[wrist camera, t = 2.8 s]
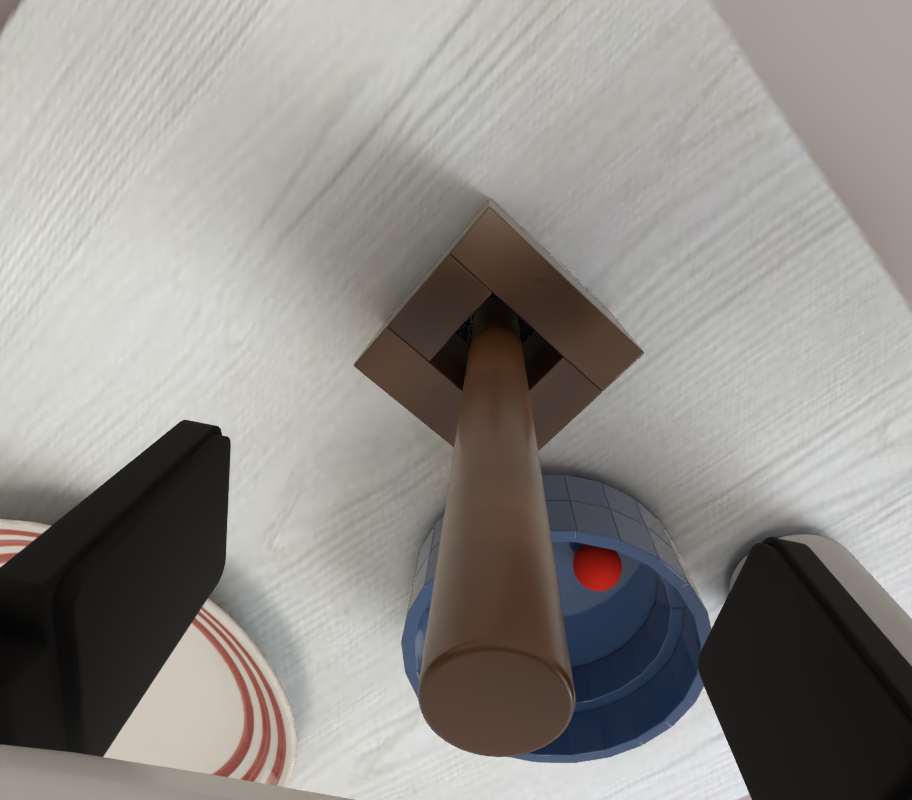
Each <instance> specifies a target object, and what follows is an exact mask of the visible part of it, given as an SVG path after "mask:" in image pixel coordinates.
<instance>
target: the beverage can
mask: <svg viewBox="0 0 912 800" xmlns="http://www.w3.org/2000/svg"><path fill="white" fill-rule="evenodd" d="M779 539H784V540H789V541H794V542H798V543H803V544H806V545H807V546H808V547H810V548H811V550H812V551H813V552H814V553H815V554H816V555H817V557H818V558H819V559H820V560H821V561H822V562H823V564H824V565H825V566H826V567H827V568H828V569H829V571H830V572H831V573H832V574H833V575H834V576H835V577H836V579H837V580H838V581H839V582H840V583H841V584H842V586H843V587H844V588H845V589H846V590H847V591H848V593H849V594H850V595H851V596H852V597H853V598H854V600H855V601H856V602H857V603H858V604H859V605H860V607H861V608H862V609H863V610H864V611H865V612H866V614H867V615H868V616H869V617H870V618H871V619H872V621H873V622H874V623H875V624H876V625H877V626H878V628H879V629H880V630H881V631H882V632H883V633H884V635H885V636H886V637H887V638H888V639H889V640H890V641H891V643H892V644H893V645H894V646H895V647H896V648H897V650H898V651H899V652H900V653H901V654H902V655H903V657H904V658H905V659H906V660H907V661H908V662H909V664H910V665H911V666H912V619H911V618H910V617H909V616H908V615H907V613H906V612H905V611H904V610H903V609H902V608H901V607H900V606H899V605H898V604H897V603H896V602H895V600H894V599H893V598H892V597H891V596H890V595H889V594H888V593H887V592H886V591H885V590H884V589H883V587H882V586H881V585H880V584H879V583H878V582H877V581H876V580H875V579H874V578H873V577H872V576H871V574H870V573H869V572H868V571H867V570H866V569H865V568H864V567H863V566H862V565H861V564H860V563H859V561H858V560H857V559H856V558H855V557H854V556H853V555H852V554H851V553H850V552H849V551H848V550H847V549H846V548H845V547H844V546H842V545H841V544H839V543H838V542H836V541H833V540H831V539H829V538H826V537H822V536H818V535H810V534H797V535H789V536H783V537H779ZM747 556H748V555H747ZM747 556H745V557H744V558H743V560H742V561H741V562H740V563H739V564H738V566H737V567H736V569H735V571H734V573H733V575H732V577H731V581H730V586H729V593H730V591H731V589H732V587H733V585H734V583H735V581H736V579H737V577H738V575H739V573H740V571H741V569H742V567H743V565H744V563H745V560H746V558H747Z"/></svg>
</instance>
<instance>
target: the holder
mask: <svg viewBox="0 0 912 800" xmlns="http://www.w3.org/2000/svg"><path fill="white" fill-rule="evenodd" d="M492 292H493V293H494V294H495V295H496V296H497V297H499V298H500V299H501V300H502V301H503V302H504V303H505V304H506V305H507V306H508V307H510V308H511V309H512V310H513V311H514V312H515V313H516V314H517V315H518V316H519V317H521V318H522V319H523V320H524V321H525V322H526V323H527V324H528V325H529V326H531V327H532V328H533V329H534V330H535V331H534V332H533V333H532V334H531V335H530V336H529V337H528V338H527V339H526V340H525V341H524V342H523V343H522V349H523V356H524V362H525V369H526V375H527V382H528V388H529V395H530V401H531V408H532V414H533V421H534V428H535V434H536V441H537V447H538V451H539V450H540V449H541V448H542V447H543V446H544V445H545V444H546V443H547V442H549V441H550V440H551V439H552V438H553V437H554V436H555V435H556V434H557V433H558V432H559V431H560V430H562V429H563V428H564V427H565V426H566V425H567V424H568V423H569V422H570V421H571V420H572V419H574V418H575V417H576V416H577V415H578V414H579V413H580V412H581V411H582V410H583V409H584V408H585V407H587V406H588V405H589V404H590V403H591V402H592V401H593V400H594V399H595V398H596V397H597V396H598V395H600V394H601V393H602V391H604V390H605V389H606V388H607V387H608V386H609V385H610V384H611V383H612V382H613V381H615V380H616V379H617V378H618V377H619V376H620V375H621V374H622V373H623V372H624V371H625V370H626V369H628V368H629V367H630V366H631V365H632V364H633V363H634V362H635V361H636V360H637V359H638V358H639V357H641V356H642V355H643V354H644V352H643V350H642V349H641V348H640V347H639V346H638V344H637V343H636V342H635V341H634V339H633V338H632V337H631V336H630V335H629V333H628V332H627V331H626V330H625V329H624V327H623V326H622V325H621V324H620V323H619V321H618V320H617V319H616V318H615V317H614V315H613V314H612V313H611V312H610V311H609V310H608V309H607V308H606V307H605V306H604V305H603V304H602V303H601V302H600V301H598V300H597V299H596V298H595V297H594V296H593V295H592V294H591V293H590V292H589V291H588V290H587V289H586V288H585V287H584V286H583V285H582V284H581V283H580V282H579V281H577V280H576V279H575V278H574V277H573V276H572V275H571V274H570V273H569V272H568V271H567V270H566V269H565V268H564V267H563V266H562V265H561V264H560V263H559V262H558V261H556V260H555V259H554V258H553V257H552V256H551V255H550V254H549V253H548V252H547V251H546V250H545V249H544V248H543V247H542V246H541V245H540V244H539V243H538V242H536V241H535V240H534V239H533V238H532V237H531V236H530V235H529V234H528V233H527V232H526V231H525V230H524V229H523V228H522V227H521V226H520V225H519V224H518V223H517V222H515V221H514V220H513V219H512V218H511V217H510V216H509V215H508V214H507V213H506V212H505V211H504V210H503V209H502V208H501V207H500V206H499V205H498V204H497V203H496V202H494V201H493V200H492V199H489V201H488V202H487V203H486V204H485V205H484V206H483V208H482V209H481V210H480V211H479V212H478V213H477V215H476V216H475V217H474V218H473V219H472V221H471V222H470V223H469V224H468V225H467V226H466V228H465V229H464V230H463V231H462V232H461V234H460V235H459V236H458V237H457V238H456V239H455V241H454V242H453V243H452V244H451V245H450V247H449V248H448V249H447V250H446V251H445V252H444V254H443V255H442V256H441V257H440V258H439V259H438V261H437V262H436V263H435V264H434V265H433V267H432V268H431V269H430V270H429V271H428V272H427V274H426V275H425V276H424V277H423V278H422V280H421V281H420V282H419V283H418V284H417V285H416V287H415V288H414V289H413V290H412V291H411V293H410V294H409V295H408V296H407V297H406V298H405V300H404V301H403V302H402V303H401V304H400V305H399V307H398V308H397V309H396V310H395V311H394V312H393V314H392V315H391V316H390V317H389V318H388V320H387V321H386V322H385V323H384V324H383V326H382V327H381V328H380V330H379V331H378V332H377V334H376V335H375V336H374V338H373V339H372V341H371V342H370V343H369V345H368V346H367V347H366V349H365V350H364V351H363V353H362V354H361V355H360V357H359V358H358V359H357V361H356V362H355V363H354V366H355V367H356V368H357V369H358V370H360V371H361V372H362V373H363V374H364V375H366V376H367V377H368V378H369V379H371V380H372V381H373V382H374V383H376V384H377V385H378V386H379V387H380V388H382V389H383V390H384V391H385V392H387V393H388V394H389V395H390V396H392V397H393V398H394V399H395V400H396V401H398V402H399V403H400V404H401V405H403V406H404V407H405V408H406V409H408V410H409V411H410V412H411V413H412V414H414V415H415V416H416V417H417V418H419V419H420V420H421V421H422V422H424V423H425V424H426V425H427V426H428V427H430V428H431V429H432V430H433V431H435V432H436V433H437V434H438V435H440V436H441V437H442V438H443V439H444V440H446V441H447V442H448V443H449V444H451V445H452V446H453V447H454V446H455V439H456V433H457V426H458V419H459V413H460V406H461V399H462V393H463V386H464V380H465V373H466V366H467V360H468V353H469V346H470V345H469V344H468V343H467V342H466V341H465V340H464V339H463V338H461V337H460V336H459V335H458V334H457V333H456V332H457V331H458V330H459V329H460V328H461V327H462V326H463V324H464V323H465V322H466V321H467V320H468V319H469V318H470V317H471V316H472V315H473V314H474V312H475V311H476V310H477V309H478V308H479V307H480V306H481V305H482V304H483V303H484V301H485V300H486V299H487V298H488V297H489V296H490V295H491V294H492Z"/></svg>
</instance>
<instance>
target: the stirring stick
mask: <svg viewBox="0 0 912 800" xmlns="http://www.w3.org/2000/svg"><path fill="white" fill-rule="evenodd" d="M418 701H419V706H420V709H421V711H422V714H423V717H424V718H425V720H426V722H427V724H428V725H429V726H430V727H431V729H432V730H433V731H434V732H435V733H436V734H437V735H438V736H440V737H441V738H442V739H444V740H445V741H446V742H448V743H450V744H451V745H453V746H455V747H457V748H460V749H462V750H465V751H468V752H470V753H475V754H479V755H484V756H494V757H509V756H517V755H522V754H527V753H530V752H533V751H536V750H538V749H541V748H543V747H545V746H546V745H548V744H550V743H551V742H553V741H554V740H555V739H557V738H558V737H559V736H560V735H561V734H562V733H563V732H564V730H565V729H566V728H567V726H568V724H569V722H570V720H571V718H572V715H573V712H574V709H575V701H576V698H575V689H574V682H573V676H572V669H571V663H570V656H569V649H568V643H567V636H566V630H565V623H564V617H563V610H562V604H561V597H560V591H559V584H558V578H557V571H556V565H555V558H554V552H553V545H552V539H551V532H550V525H549V519H548V512H547V506H546V499H545V493H544V486H543V480H542V473H541V467H540V460H539V454H538V447H537V441H536V434H535V428H534V421H533V414H532V408H531V401H530V395H529V388H528V382H527V375H526V369H525V362H524V356H523V349H522V343H521V336H520V330H519V323H518V317H517V314H516V313H515V312H514V311H513V310H512V309H511V308H510V307H508V306H507V305H506V304H505V303H504V302H503V301H502V300H501V299H500V298H490V299H487V300H485V301H484V303H483V304H482V305H481V306H480V307H479V308H478V309H477V310H476V311H475V314H474V320H473V326H472V333H471V340H470V346H469V353H468V360H467V366H466V373H465V380H464V386H463V393H462V399H461V406H460V413H459V419H458V426H457V433H456V439H455V446H454V453H453V459H452V466H451V473H450V479H449V486H448V493H447V499H446V506H445V513H444V519H443V526H442V533H441V539H440V546H439V553H438V559H437V566H436V572H435V579H434V586H433V592H432V599H431V606H430V612H429V619H428V626H427V632H426V639H425V646H424V652H423V659H422V666H421V672H420V679H419V686H418Z"/></svg>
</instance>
